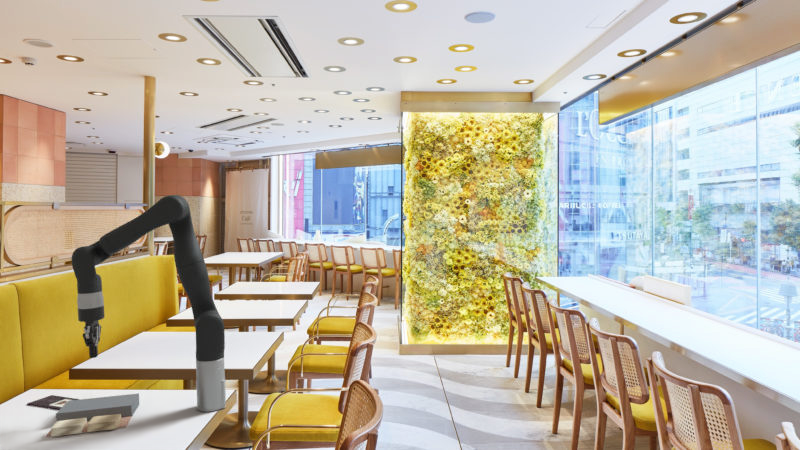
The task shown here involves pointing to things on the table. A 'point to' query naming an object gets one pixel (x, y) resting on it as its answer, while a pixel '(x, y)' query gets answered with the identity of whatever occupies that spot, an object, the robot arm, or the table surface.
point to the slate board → (99, 407)
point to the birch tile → (68, 427)
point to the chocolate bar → (51, 402)
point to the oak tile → (104, 422)
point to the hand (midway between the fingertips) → (93, 357)
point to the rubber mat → (122, 424)
